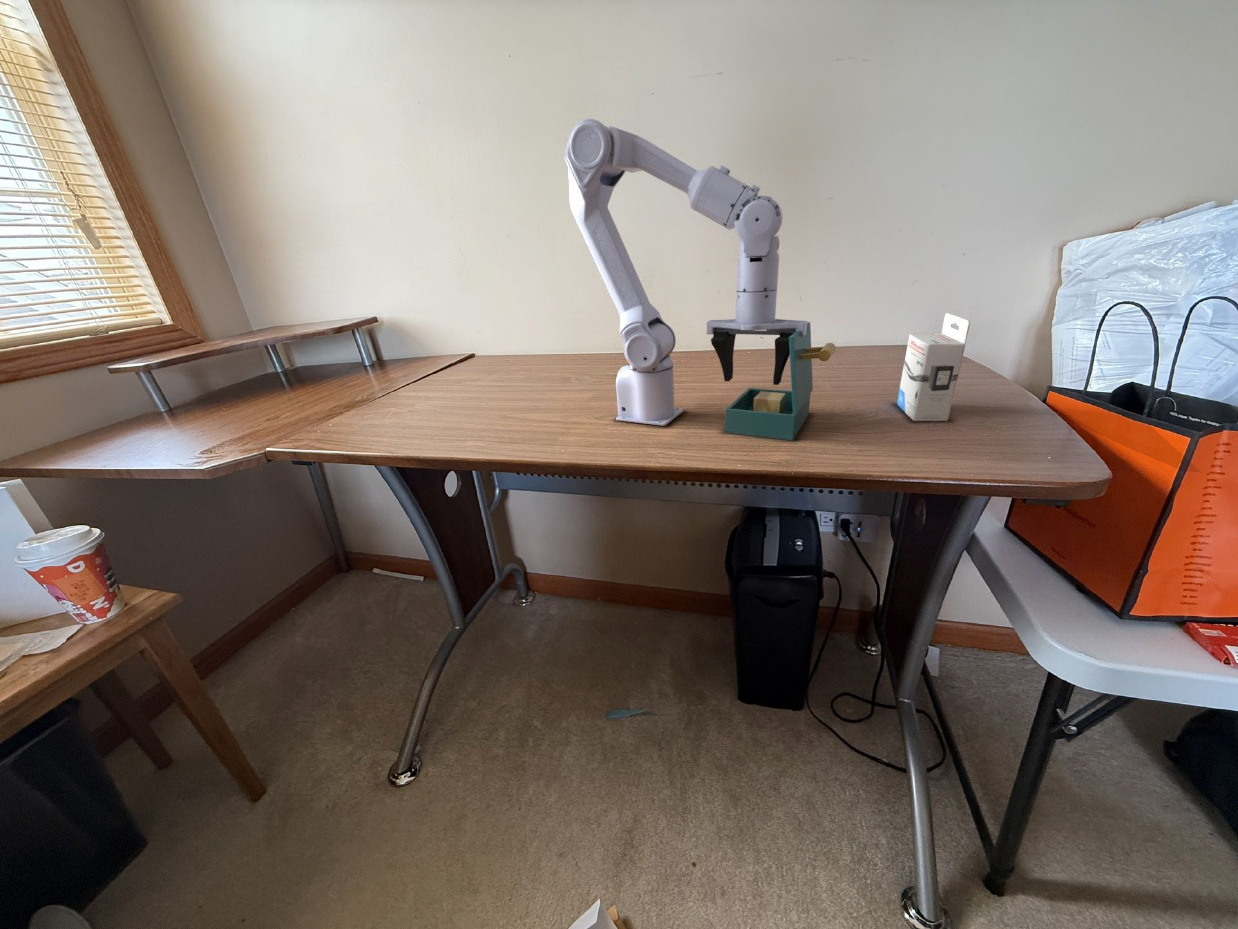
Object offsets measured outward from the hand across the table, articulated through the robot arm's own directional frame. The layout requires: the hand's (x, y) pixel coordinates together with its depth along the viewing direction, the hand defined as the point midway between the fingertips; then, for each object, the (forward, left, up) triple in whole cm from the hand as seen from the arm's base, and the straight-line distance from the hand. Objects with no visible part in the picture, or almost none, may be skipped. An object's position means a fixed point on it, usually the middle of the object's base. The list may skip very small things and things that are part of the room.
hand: (752, 381), depth 75 cm
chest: (+3, 0, -7) cm, 7 cm away
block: (+1, 0, -4) cm, 4 cm away
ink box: (+24, +12, -7) cm, 28 cm away
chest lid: (+7, 0, +3) cm, 7 cm away
